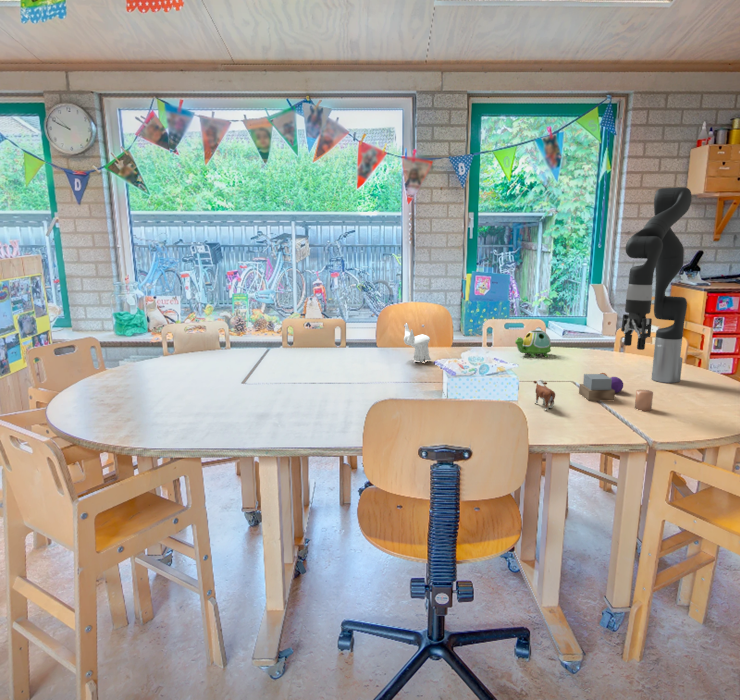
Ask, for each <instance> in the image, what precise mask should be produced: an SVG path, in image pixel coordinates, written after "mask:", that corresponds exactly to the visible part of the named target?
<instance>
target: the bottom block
mask: <svg viewBox="0 0 740 700" xmlns="http://www.w3.org/2000/svg"><path fill="white" fill-rule="evenodd" d="M578 394H579V395H580V396H581V395H582V396H581V397H582V398H584V399H585V398H586V399H585V400H587V401H588V402H596V401H597V402H601V401H600V400H614V401H615V398H616V397H615V395H616V393H615V390H613V389H612V388H611V390H590V389H588V388H587V387H586V386H584V385H583V383H579V385H578Z"/></svg>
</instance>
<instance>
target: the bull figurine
mask: <svg viewBox="0 0 740 700" xmlns="http://www.w3.org/2000/svg"><path fill="white" fill-rule="evenodd" d="M533 384H534V385H535V384H536V386H535V387H536V388H535V397H536V398H535V402H536V403H539V402H538V401H539V398H540V399H541V400H542V405H543V404H545V408H544V409H546V410H547V411H548V409H549V408H552V409H553V407H554V405H555V399H556V393H555V391H553V389H551V388H549V387H547V384H548V382H546V381H545V382H544V380H543V379H541V378H539V379H538V380H534V381H533Z"/></svg>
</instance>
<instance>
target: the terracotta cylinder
mask: <svg viewBox="0 0 740 700" xmlns="http://www.w3.org/2000/svg"><path fill="white" fill-rule="evenodd" d="M653 398H654V391H652V390H648V389H636V391H635V402H634V409H635V408H636V409H638V410H637V411H639V410H642V411H641V412H651V411H652V409H653V407H652V406H653ZM636 409H635V410H636Z"/></svg>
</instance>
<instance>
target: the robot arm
mask: <svg viewBox="0 0 740 700" xmlns="http://www.w3.org/2000/svg"><path fill="white" fill-rule="evenodd" d="M691 203H692V192H691V189H690V188H688V187H682V186H681V187H662V188H661V187H660V188H659V189H657V190H656V191H655V194H654V198H653V210H654V211H653V213H654V216H652V217H651V218H650V219H649V220H648V221H646V223H645V225H644V227H643V228H642V229H640V230H639V231H637V232H636V233H634V234H633V235H632V236H630V238H629V239H627V241H626V245H625V247H624V249H625V254H626V255H627V256H628V257H629V258H631V259H644V260H645V259H646V261H645V262H644V263H643V264H641V265H635V266H632V267H630V268H629V272H628V273H629V277H628V285H627V289H626V294H625V295H626V296H625V298H626V299H625V307H624V312H625V313H627V314H623V316H622V320H621V321H622V323H621V328H620V329H621V332H622V333H623V334H624V341H623V346H626V347H627V346H628V347H629V346H630V347H631V346H632V341H633V333H634V332H635V333H636V335H637V343H636V344H637V345H636V349H637V350H640V351H641V350H642V351H644V350H645V347H646V340H647V339H648V338H651V336H652V335H651V334H652V321H653V320H652V318H649V317H647V316H646V315H649V314H650V313H651V309H652V300H653V299H652V298H653V283H654V281H653V280H654V273H655V288H654V289H655V291H654V300H653V314H654V318H656V319H657V320H661V321H673V324H671V325H669V326H666V327H662V328H657V329H656V332H655V339H654V349H653V357H652V358H653V360H652V371H651V380H652V381H655V382H659V383H666V384H674V383H675V384H676V383H679V382H681V379H682V378H681V377H682V376H681V374H682V367H683V360H684V359H683V357H681V353H682V345H683V338H684V337H683V336H684V335H683V334H684V327H685V321H686V314H687V308H688V301H687V299H686V297H684V296H667V295H666V290H667V289H668V287H669V285H670V283H671V282H672V281H673V280H674V279H675V277H677V275H678V274H679V273H680V271H681V270H682V268H683V266H684V256H685V255H684V250H685V249H684V245H683V243H682V241H681V240H680V239H679V238H678V236H677V234H676V233H675V232H674V230H673V229H672V226H673V225H674V224H676V223H677V222H678V221H679V220H680V219H681V218H682V217H684V216H685V214H686V213H687V212H688V211H689V210H690V208H691Z"/></svg>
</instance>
